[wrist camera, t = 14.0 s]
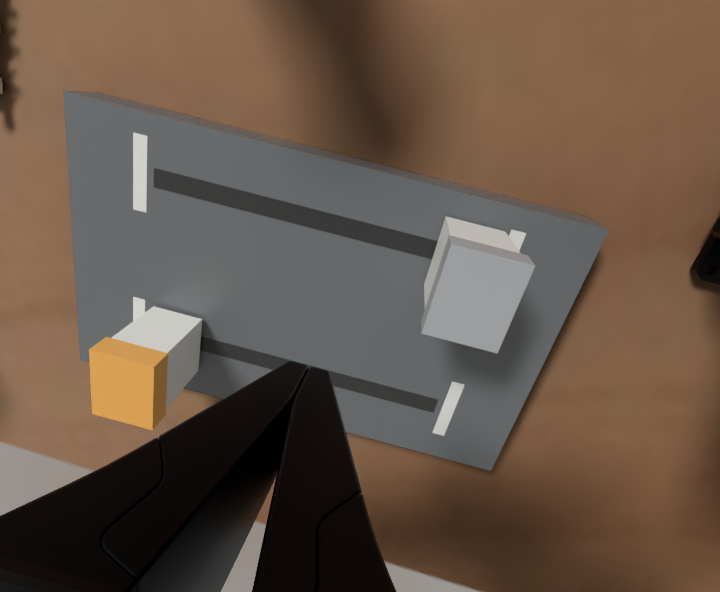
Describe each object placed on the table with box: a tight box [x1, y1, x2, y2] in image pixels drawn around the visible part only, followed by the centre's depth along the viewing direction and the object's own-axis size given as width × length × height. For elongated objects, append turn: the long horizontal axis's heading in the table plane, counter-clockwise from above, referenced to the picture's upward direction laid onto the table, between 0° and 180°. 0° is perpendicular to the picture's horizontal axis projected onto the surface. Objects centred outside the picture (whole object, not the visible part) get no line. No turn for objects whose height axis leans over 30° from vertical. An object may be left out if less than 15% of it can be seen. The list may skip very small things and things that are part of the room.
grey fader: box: [421, 216, 535, 354], centre depth 15 cm, size 3×3×4 cm
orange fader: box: [89, 306, 202, 430], centre depth 19 cm, size 3×3×4 cm
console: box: [63, 91, 609, 471], centre depth 20 cm, size 22×13×2 cm, turn 77°
